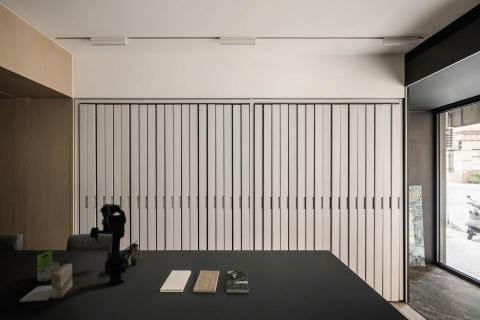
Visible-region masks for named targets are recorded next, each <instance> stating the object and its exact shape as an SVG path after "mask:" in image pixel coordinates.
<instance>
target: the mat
mask: <svg viewBox="0 0 480 320" xmlns="http://www.w3.org/2000/svg"><path fill="white" fill-rule="evenodd" d="M51 298H52V284H51V285H39V286H36V287H35V288H34V289H32V290H31V291H30V292H28V293H27V294H26V295H25V296H24V297H22V298H21V299H20V300H19V303H25V302H26V303H27V302H41V301H48V300H49V299H51Z"/></svg>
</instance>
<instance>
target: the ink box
mask: <svg viewBox="0 0 480 320" xmlns="http://www.w3.org/2000/svg"><path fill="white" fill-rule="evenodd" d="M45 255H47V256H45ZM44 256H45V257H44ZM36 263H37V264H36V266H37V267H36V269H37V270H36V273H37V274H36V277H37V282H41V283H46V282H48V281H51V280H52V273H53V272H54V271H56V270H57V269H58V268H59V267H61V264H60V262H56V261H53V250H52V249H51V250H48V251H46V252H44V253H41V254H38V255H37V261H36Z"/></svg>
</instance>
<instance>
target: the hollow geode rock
mask: <svg viewBox="0 0 480 320" xmlns="http://www.w3.org/2000/svg"><path fill="white" fill-rule="evenodd" d="M139 246H140V245H139V243H138V240H135V241H134V242H133V243H132V244H130V245H129V246H127V247H126V248H125V249H123V250H122V251H120V253H121V256H122V257H123V262H124V271H123V272H125V271H126V270H128V269H129V268H130V266H131V265H134V264H139V262H140V258H141V257H142V251H141V250H140V249H139ZM120 267H122V266H120ZM120 267H115V268H120ZM115 268H114V269H115Z"/></svg>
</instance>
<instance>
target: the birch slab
mask: <svg viewBox="0 0 480 320" xmlns="http://www.w3.org/2000/svg"><path fill="white" fill-rule="evenodd" d="M51 285H52V296H51V299H62V298H63V297H64V296H65V295H66V294H67V293H68V292H69V291H70V289H72V288H73V263H64V264H62V265H60V267H59V268H58V269H57V270H56V271H54V272H53V273H52V279H51Z"/></svg>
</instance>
